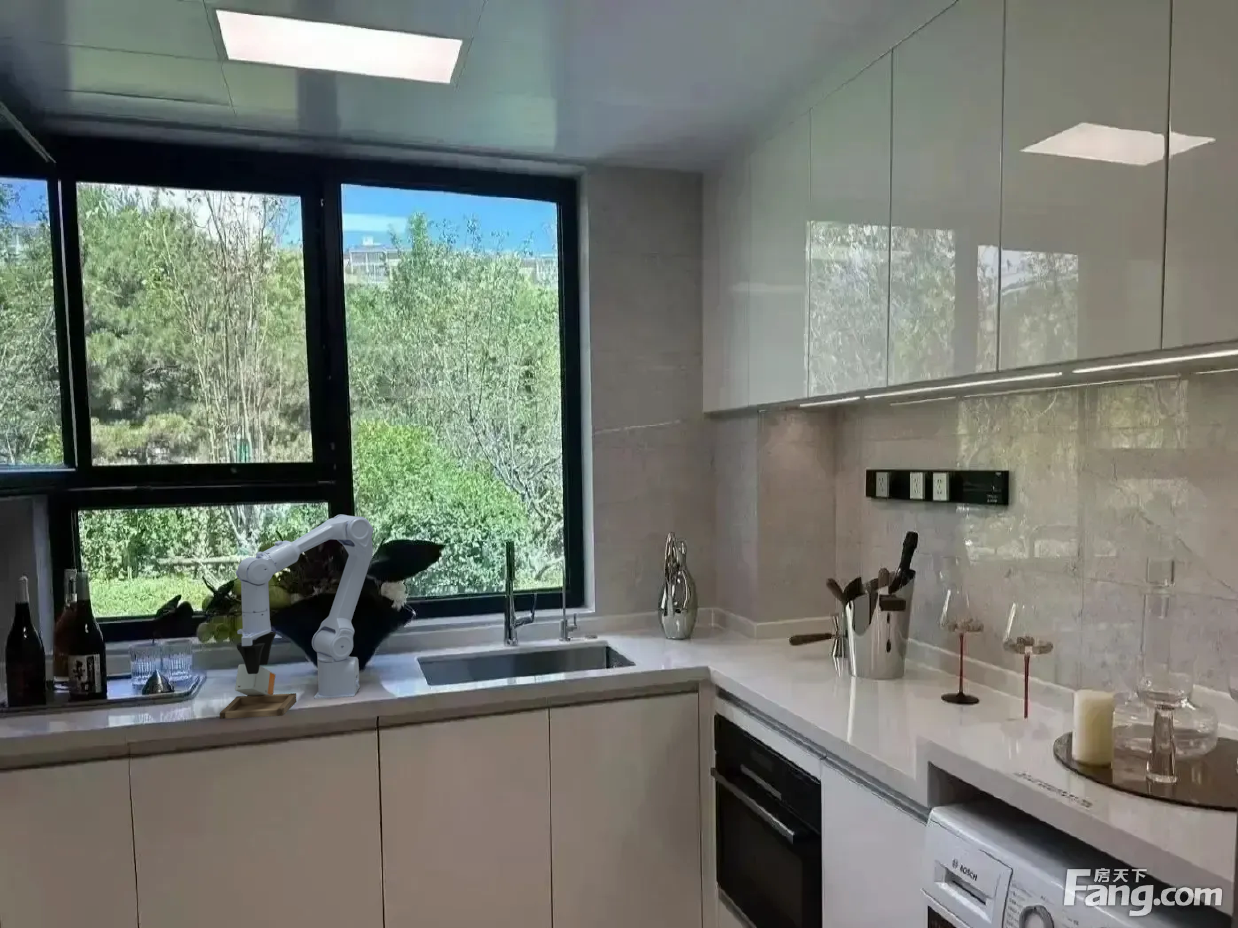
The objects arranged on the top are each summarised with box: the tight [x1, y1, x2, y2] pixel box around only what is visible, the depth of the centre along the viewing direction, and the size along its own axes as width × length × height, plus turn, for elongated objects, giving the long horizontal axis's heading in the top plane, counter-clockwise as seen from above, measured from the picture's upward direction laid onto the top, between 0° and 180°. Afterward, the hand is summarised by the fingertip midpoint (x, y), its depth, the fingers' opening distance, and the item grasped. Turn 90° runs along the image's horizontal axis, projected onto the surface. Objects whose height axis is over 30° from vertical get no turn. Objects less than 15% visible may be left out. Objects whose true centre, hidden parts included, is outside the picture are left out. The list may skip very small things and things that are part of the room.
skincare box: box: [234, 663, 277, 696], centre depth 194 cm, size 6×4×12 cm
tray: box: [219, 692, 297, 720], centre depth 188 cm, size 13×11×2 cm
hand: (257, 668), depth 188 cm, fingers open, 6 cm apart
